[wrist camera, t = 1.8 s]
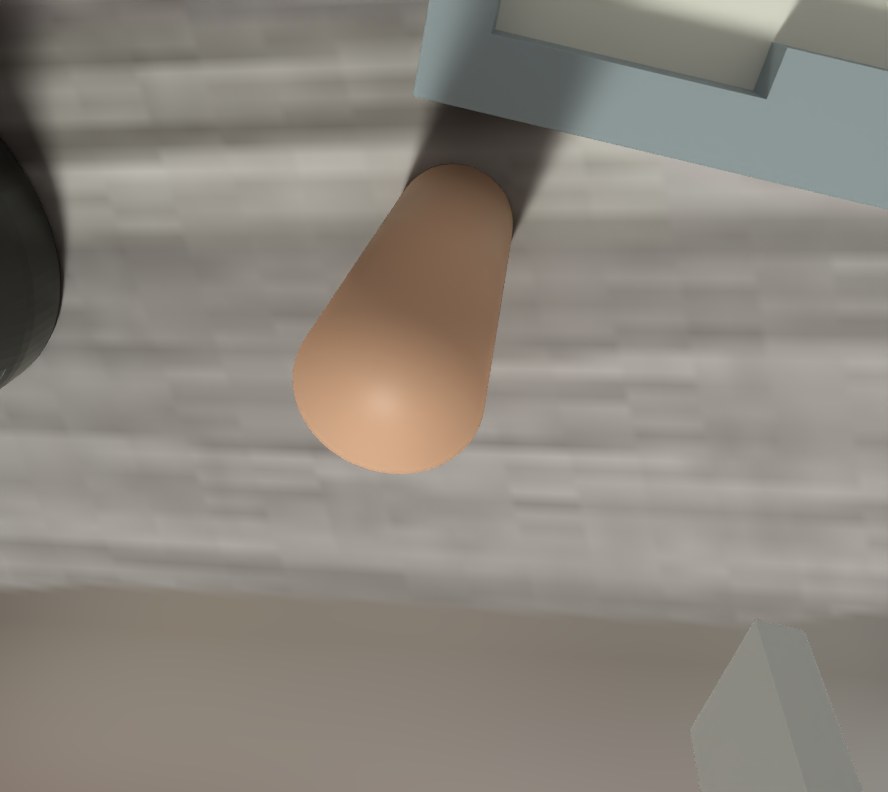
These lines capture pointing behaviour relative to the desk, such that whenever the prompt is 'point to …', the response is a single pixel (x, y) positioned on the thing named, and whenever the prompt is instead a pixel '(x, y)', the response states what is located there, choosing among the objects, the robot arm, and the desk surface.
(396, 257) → the peg
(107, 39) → the desk surface
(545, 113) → the keyhole board
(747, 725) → the robot arm
